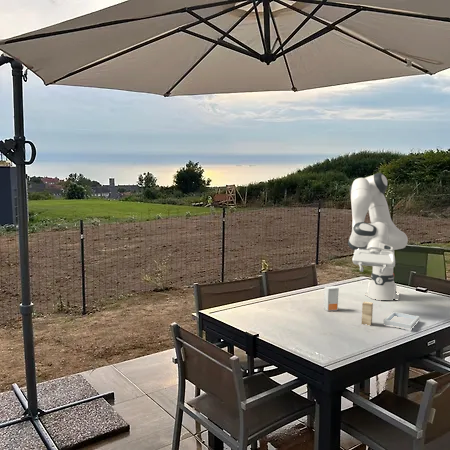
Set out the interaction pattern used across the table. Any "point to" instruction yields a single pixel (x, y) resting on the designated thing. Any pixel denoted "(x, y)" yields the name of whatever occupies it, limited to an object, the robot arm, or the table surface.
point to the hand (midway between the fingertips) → (371, 272)
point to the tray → (388, 322)
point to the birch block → (367, 312)
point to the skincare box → (331, 298)
